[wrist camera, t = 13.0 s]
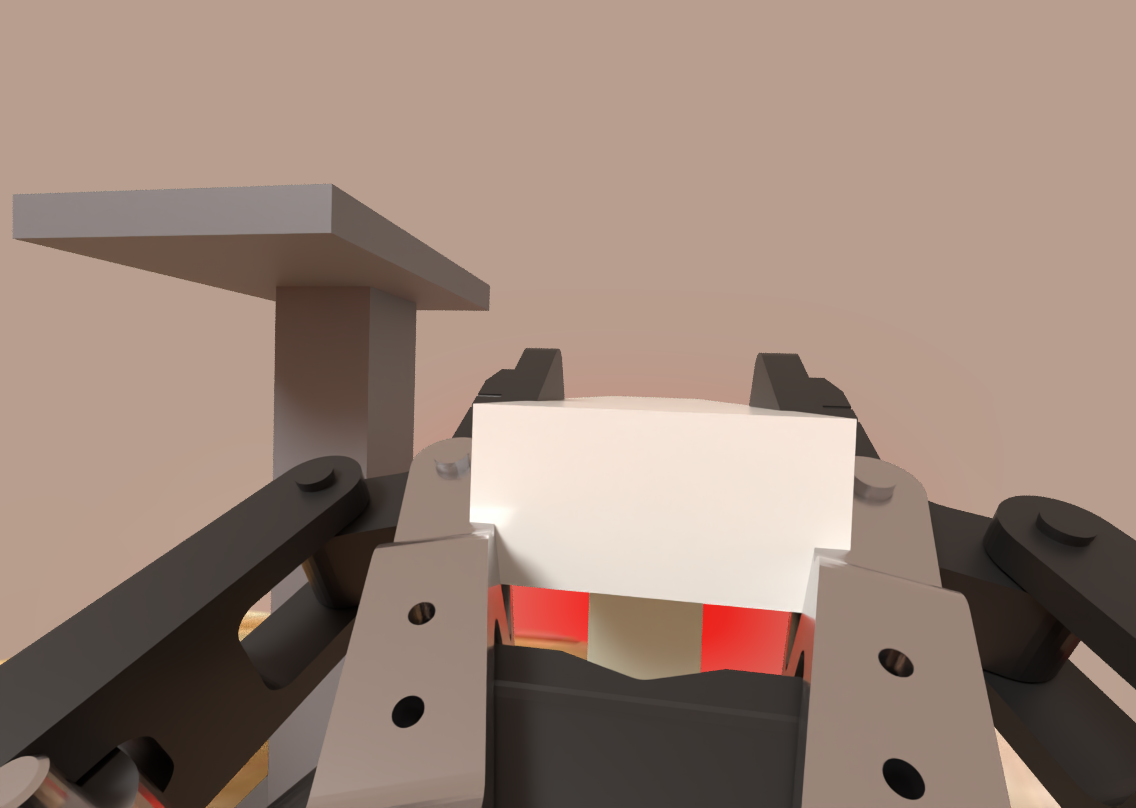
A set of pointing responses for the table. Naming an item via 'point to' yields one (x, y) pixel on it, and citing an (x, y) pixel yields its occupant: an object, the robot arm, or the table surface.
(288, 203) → the high shelf
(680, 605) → the low shelf
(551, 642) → the table surface
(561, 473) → the pale pink beam
